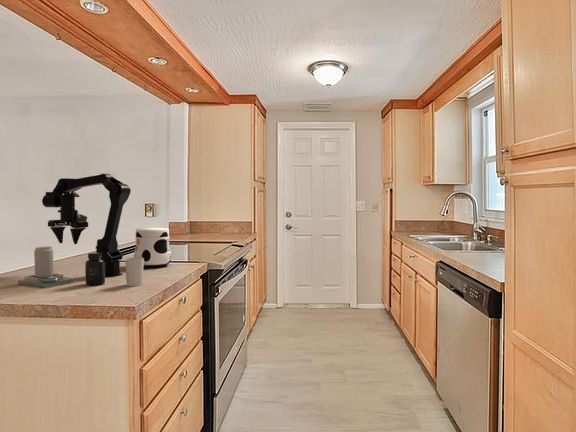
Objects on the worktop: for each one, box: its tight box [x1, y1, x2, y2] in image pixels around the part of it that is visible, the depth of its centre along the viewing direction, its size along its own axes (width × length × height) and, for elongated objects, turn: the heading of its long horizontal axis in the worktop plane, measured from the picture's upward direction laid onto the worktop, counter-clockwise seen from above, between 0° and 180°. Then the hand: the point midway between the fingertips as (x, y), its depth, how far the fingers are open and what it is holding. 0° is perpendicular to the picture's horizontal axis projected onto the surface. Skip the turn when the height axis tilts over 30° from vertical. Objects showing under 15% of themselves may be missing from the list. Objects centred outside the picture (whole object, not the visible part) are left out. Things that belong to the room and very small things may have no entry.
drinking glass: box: [124, 256, 144, 287], centre depth 163 cm, size 7×7×10 cm
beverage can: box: [33, 246, 55, 278], centre depth 167 cm, size 6×6×12 cm
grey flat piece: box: [17, 272, 76, 289], centre depth 165 cm, size 16×12×3 cm
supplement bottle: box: [84, 251, 106, 287], centre depth 163 cm, size 7×7×12 cm
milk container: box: [133, 227, 172, 268], centre depth 207 cm, size 17×17×18 cm
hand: (68, 243), depth 185 cm, fingers open, 9 cm apart
